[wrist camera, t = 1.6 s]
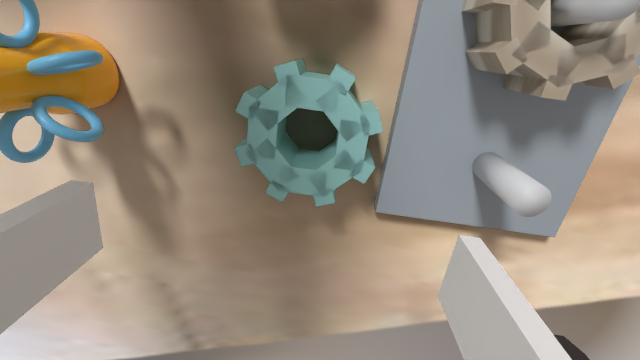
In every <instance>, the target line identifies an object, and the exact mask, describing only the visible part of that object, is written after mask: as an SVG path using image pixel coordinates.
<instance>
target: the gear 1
mask: <svg viewBox="0 0 640 360" xmlns="http://www.w3.org/2000/svg"><path fill="white" fill-rule="evenodd" d="M274 70H275V73H276V77H277V80H278V83H277V84H275V85H274V86H273V87H272V88H271V89H269V90H268V89H266V88H265V87H263V86H261V85H258V86H256V87H254V88H252V89H250V90H247V91H245V92H244V93H243V95H242V97H241V100H240V102H239V104H238V106H237V108H236V110H235V112H237V113H239V114H240V115H242V116H244V117H246V118H247V119H248V131H247V136H246V137H245V138H244V139H243V140H242V141H241V142H240V143H239V144H238V145H237V146H236V147H235V148H234V149H235V152H236V154H237V157H238V159H239V162H240V165H241V167H243V166H247V165H251V164H255V166H256V167H257V168H258V169H259V170H260V171H261V172H262V173H263V175H264V176H265V177H266V178H267V179H268V180H269V181H270V184H269V186H268V188H267V190H266V192H265V193H266V194H268V195H269V196H271V197H273V198H275V199H277V200H279V201H281V202H283V200H284V199H285V197H286V195H287V194H288V192H290V193H298V194H305V195H312V196H313V198H314V201H315V204H316V207H319V206H323V205H328V204H332V203H335V192H336V188H338V187H339V186H341V185H342V184H344V183H345V182H347V181H348V180H350V179H351V178H354V179H356V180H358V181H360V182H361V183H363V184H364V183H365V182H366V180H367V179H368V178H369V176H370V175H371V173H372V172H373V170H374V169H375V165H374V162H373V158H372V155H371V152H370V149H369V148H367V142H368V136H369V135H373V134H377V133H382V132H383V130H382V125H381V120H380V115H379V111H378V109H377V108H376V106H375V105H374V103H373V102H372V100H371V101H367V102H364V103H359V102H358V101H357V99H356V98H355V96H354V95H353V93H352V92H351V91H350V88H351V86H352V84H353V82H354V81H355V79H356V78H355V76H354V74H353V73H352V72H350V71H349V70H347V69H345V68H344V67H342V66H341V65H339V64H337V63H336V65H335V66H334V68H333V70H332V72H331V74H330V75H329V74H322V73H315V72H308V71H306V68H305V64H304V60H303V58H302V59H298V60H295V61H291V62H288V63H285V64H281V65H278V66H274ZM296 108H302V109H310V110H317V111H323V112H324V113H325V114H326V115H327V117H328V118H329V119H330V121H331V122H332V123H333V125H334V126H335V127H336V129H337V134H336V139H335V140H334V141H332V142H331V143H330V144H328V145H327V146H325V147H324V148H323V149H321V150H320V151H315V150H308V149H300V148H298V147H297V146H296V144H295V143H294V142H293V141H292V139H291V138H290V137H289V136H288V134H287V133H286V121H287V116H288V115H289V114H290V113H291V112H293V111H294V110H295V109H296Z"/></svg>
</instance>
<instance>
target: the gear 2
mask: <svg viewBox="0 0 640 360" xmlns="http://www.w3.org/2000/svg"><path fill="white" fill-rule="evenodd" d="M461 12H468V13H475V14H476V23H477V36H478V43H477V44H475V45H474V46H472V47H471V48H470V49H468V50H467V51H465V53H466V54H467V56H468V58H469V60H470V61H471V63H472V65H473V67H474V68H475V69H476V70H482V71H489V72H496V73H502V74H508V76H507V79H506V82H505V85H504V89H508V90H513V91H517V92H521V93H525V94H529V95H534V96H538V97H543V98H550V99H557V100H564V101H566V98H567V96H568V94H569V91H570V89H571V87H572V84H573V83H575V84H582V85H589V86H595V87H602V88H609V89H615V88H616V87H618V86H620V85H621V84H623V83H625V82H626V81H628V80H630V79H631V78H633V77H635V76H636V75H638V74H640V70H639V67H638V65H637V62H636V60H635V58H636V57H637V55H638V54H639V53H640V7H639V8H638V9H637V10H636V11H635V12H634V13H633V14H632V15H630V16H628V17H627V18H624V19H622V20H617V21H607V22H597V23H587V24H577V25H567V27H566V28H565V29H564V30H563V31H562V33H561V34H560V35H557V34H556V33H555V32H553V31H552V30H551V0H464V4H463V7H462V11H461Z"/></svg>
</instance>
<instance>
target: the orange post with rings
mask: <svg viewBox="0 0 640 360" xmlns="http://www.w3.org/2000/svg"><path fill="white" fill-rule="evenodd" d="M18 1H19V2H20V4H21V6H22V8H23V12H24V26H23V28H22V30H21V32H20V33H19V34H17V35H15V36H6V35H4V34H2V33H0V113H5V112H6V113H5V114H4V115H3V116H2V118H1V119H0V150H1V152H2V153H3V154H4V155H5V156H6V157H8V158H9V159H11V160H13V161H16V162H21V163H28V162H33V161H36V160H38V159H40V158H41V157H43V156H44V155H45V154H46V153H47V152H48V151H49V149H50V148H51V146H52V144H53V141H54V136H55V135H57V136H59V137H62V138H64V139H68V140H71V141H77V142H90V141H94V140H97V139H98V138H100V137H101V136H102V134H103V131H104V126H103V123H102V121H101V119H100V118H99V117H98V116H97V115H96V114H95V113H94V112H93V111H92V110H91V109H90V108H94V107H98V106H102V105H105V104H107V103H108V102H110V101H111V100H112V99H113V97H114V96H115V95H116V92H117V91H118V87H119V73H118V69H117V66H116V63H115V62H114V60H113V58H112V56H111V55H110V54H109V52H108V51H107V50H106V49H105V48H104V47H103V46H102V45H101V44H99V43H98V42H97V41H95V40H93V39H92V38H90V37H87V36H84V35H81V34H73V33H55V32H38V31H39V25H40V20H39V13H38V10H37V7H36V4H35V2H34V0H18ZM74 112H76V113H78V114H80V115H81V116H83V117H84V118H85V119H86V120H87V121H88V122H89V123H90V125H91V129H90V130H88V131H78V130H74V129H70V128H68V127H65V126H63V125H61V124H59V123H58V122H56V121H55V120H53V119H52V118H51V117H50V116H49V115H48V113H51V114H69V113H74ZM25 116H33V117H34V118H35V120H36V121H37V122H38V123H39V124H40V125H41V128H42V135H41V139H40V142H39V143H38V145H37V146H36V147H35V148H34V149H33V150H31V151H29V152H21V151H19V150H17V149H16V147H15V146H14V144H13V141H12V132H13V128H14V126H15V124H16V123H17V122H18V121H19V120H20V119H21V118H23V117H25Z"/></svg>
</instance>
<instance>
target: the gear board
mask: <svg viewBox="0 0 640 360" xmlns="http://www.w3.org/2000/svg"><path fill="white" fill-rule="evenodd" d="M463 4H464V0H419V3H418V7H417V12H416V16H415V21H414V25H413V30H412V34H411V39H410V44H409V48H408V53H407V57H406V62H405V66H404V71H403V75H402V80H401V84H400V89H399V94H398V98H397V103H396V107H395V112H394V116H393V121H392V125H391V130H390V134H389V139H388V144H387V148H386V153H385V157H384V162H383V166H382V171H381V175H380V180H379V185H378V189H377V194H376V198H375V203H374V207H375V212H377V213H384V214H392V215H399V216H406V217H413V218H420V219H427V220H435V221H442V222H449V223H456V224H463V225H470V226H478V227H485V228H492V229H499V230H506V231H514V232H521V233H528V234H535V235H542V236H549V237H555V236H556V234H557V232H558V230H559V228H560V226H561V224H562V221H563V219H564V217H565V215H566V213H567V211H568V209H569V207H570V205H571V203H572V201H573V199H574V197H575V195H576V193H577V191H578V189H579V187H580V185H581V183H582V181H583V179H584V177H585V175H586V173H587V171H588V169H589V167H590V165H591V163H592V161H593V158H594V156H595V154H596V152H597V150H598V148H599V146H600V144H601V142H602V140H603V138H604V136H605V134H606V132H607V130H608V128H609V126H610V124H611V122H612V120H613V118H614V116H615V114H616V112H617V110H618V108H619V106H620V104H621V102H622V100H623V97H624V95H625V93H626V91H627V89H628V87H629V85H630V83H631V81H632V79H633V78H631V79H630V80H628V81H626V82H625V83H623V84H621V85H620V86H618V87H616V88H615V89H609V88H602V87H595V86H589V85H582V84H575V83H573V84H572V87H571V89H570V91H569V94H568V96H567V98H566V101H564V100H557V99H550V98H543V97H538V96H534V95H529V94H525V93H521V92H517V91H513V90H508V89H504V85H505V82H506V79H507V76H508V74H502V73H496V72H489V71H482V70H476V69H475V68H474V67H473V65H472V63H471V61H470V60H469V58H468V56H467V54H466V53H465V51H467V50H468V49H470V48H471V47H472V46H474V45H475V44H477V43H478V36H477V23H476V14H475V13H468V12H461V11H462V7H463ZM639 7H640V0H551V30H552V31H553V32H555V33H556V34H557V35H560V34H561V33H562V31H563V30H564V29H565V28H566V27H567V25H577V24H587V23H597V22H607V21H617V20H622V19H624V18H627V17H628V16H630V15H632V14H633V13H634V12H635V11H636V10H637V9H638V8H639ZM635 60H636V62H637V65H638V67H639V65H640V53H639V54H638V55H637V57H636V58H635Z"/></svg>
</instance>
